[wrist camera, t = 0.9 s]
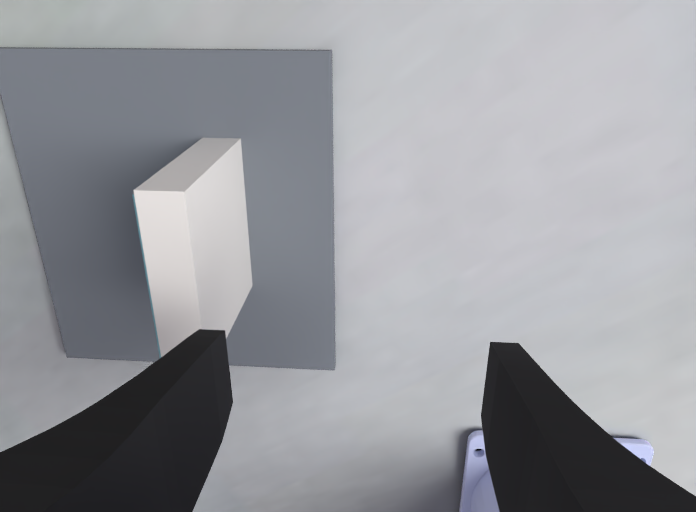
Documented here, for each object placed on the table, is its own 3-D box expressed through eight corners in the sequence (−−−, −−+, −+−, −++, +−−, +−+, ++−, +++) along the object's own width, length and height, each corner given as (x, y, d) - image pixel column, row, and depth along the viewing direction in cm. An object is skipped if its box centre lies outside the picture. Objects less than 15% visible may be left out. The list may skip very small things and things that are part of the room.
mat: (335, 364, 25) (334, 370, 25) (71, 352, 26) (66, 357, 25) (331, 49, 19) (330, 51, 19) (-4, 47, 20) (-11, 48, 20)
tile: (252, 285, 23) (207, 375, 18) (215, 283, 23) (159, 373, 18) (241, 138, 21) (184, 192, 15) (198, 137, 21) (127, 190, 15)
